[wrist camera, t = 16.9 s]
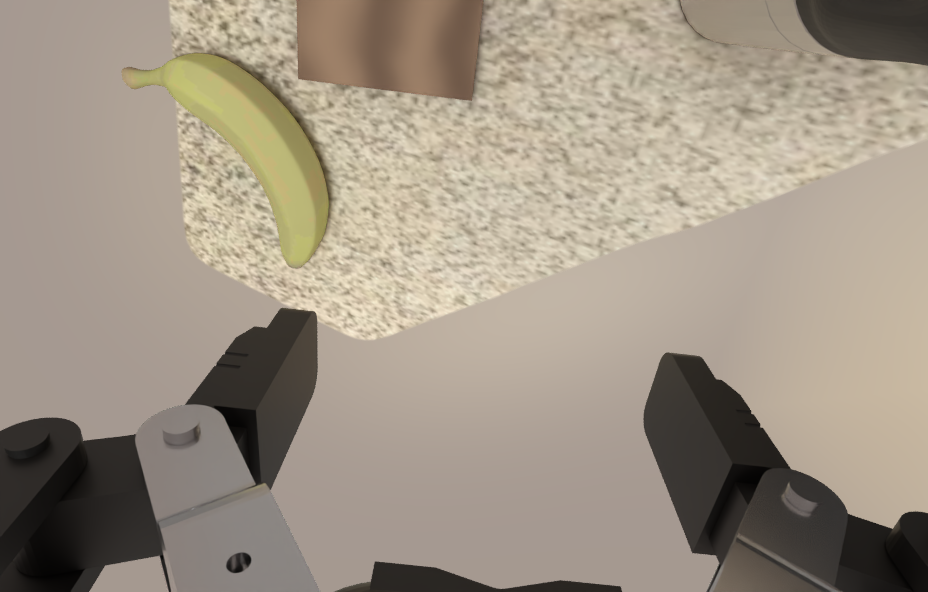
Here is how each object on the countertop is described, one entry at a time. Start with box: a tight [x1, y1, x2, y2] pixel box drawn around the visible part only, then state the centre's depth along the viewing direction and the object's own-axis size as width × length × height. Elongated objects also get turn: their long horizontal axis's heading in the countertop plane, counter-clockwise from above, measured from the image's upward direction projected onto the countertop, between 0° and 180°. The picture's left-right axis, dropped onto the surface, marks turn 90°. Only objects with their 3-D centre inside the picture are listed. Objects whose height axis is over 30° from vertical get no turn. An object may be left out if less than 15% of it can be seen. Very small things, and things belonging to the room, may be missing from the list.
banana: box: [122, 53, 329, 268], centre depth 47 cm, size 14×6×20 cm
